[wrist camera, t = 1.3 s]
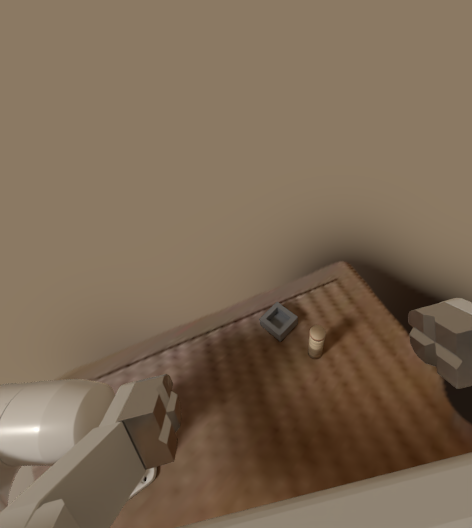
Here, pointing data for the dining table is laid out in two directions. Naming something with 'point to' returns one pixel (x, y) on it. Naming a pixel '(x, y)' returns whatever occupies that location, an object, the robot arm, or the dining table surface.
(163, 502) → the dining table surface
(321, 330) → the dowel
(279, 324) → the square socket block
